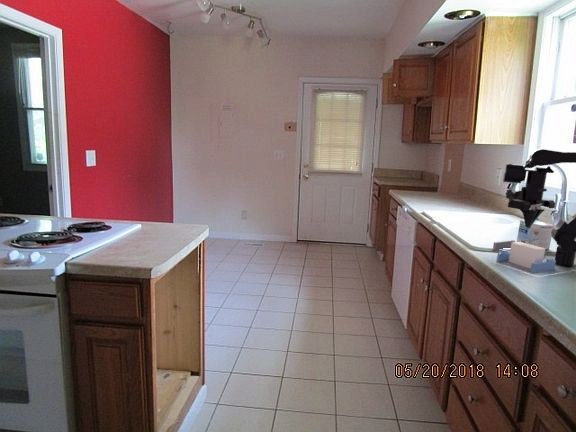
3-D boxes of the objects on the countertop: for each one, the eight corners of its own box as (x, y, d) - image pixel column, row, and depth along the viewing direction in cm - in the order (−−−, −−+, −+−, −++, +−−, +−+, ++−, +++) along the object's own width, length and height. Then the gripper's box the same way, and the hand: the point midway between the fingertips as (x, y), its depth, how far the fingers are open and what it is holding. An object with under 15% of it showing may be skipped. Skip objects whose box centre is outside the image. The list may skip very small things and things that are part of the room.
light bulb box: (515, 244, 167) (519, 219, 165) (528, 243, 169) (532, 219, 167) (536, 251, 157) (541, 225, 155) (550, 250, 159) (554, 224, 157)
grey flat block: (512, 248, 160) (513, 240, 159) (544, 257, 148) (546, 248, 148) (492, 250, 154) (493, 242, 154) (524, 260, 143) (526, 251, 142)
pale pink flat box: (516, 260, 141) (519, 241, 140) (541, 268, 133) (545, 248, 132) (508, 261, 139) (511, 242, 138) (533, 269, 131) (537, 249, 130)
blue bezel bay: (517, 259, 144) (519, 248, 143) (554, 270, 133) (556, 258, 132) (496, 262, 139) (498, 250, 138) (532, 274, 128) (534, 261, 127)
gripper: (529, 181, 151) (522, 221, 154) (497, 182, 142) (490, 223, 145) (559, 185, 141) (551, 227, 144) (527, 186, 133) (519, 230, 136)
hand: (527, 227), depth 142 cm, fingers closed
